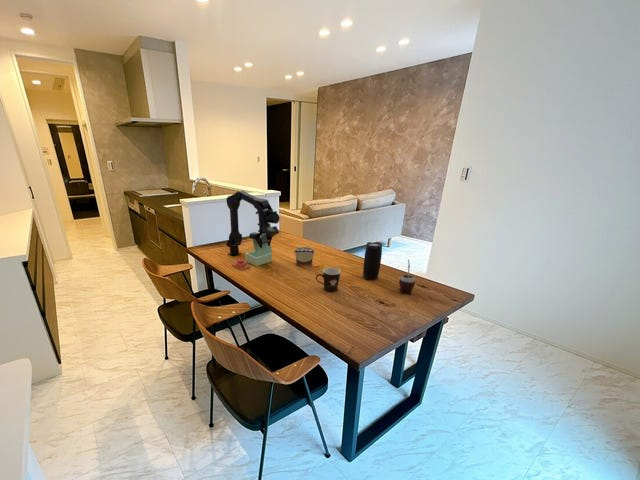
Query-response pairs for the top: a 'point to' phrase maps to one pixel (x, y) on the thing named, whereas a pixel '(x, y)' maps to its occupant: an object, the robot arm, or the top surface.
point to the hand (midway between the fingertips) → (265, 247)
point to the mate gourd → (407, 282)
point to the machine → (258, 258)
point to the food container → (304, 256)
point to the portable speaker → (372, 260)
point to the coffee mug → (330, 279)
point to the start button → (240, 261)
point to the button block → (241, 265)
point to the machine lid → (264, 249)
